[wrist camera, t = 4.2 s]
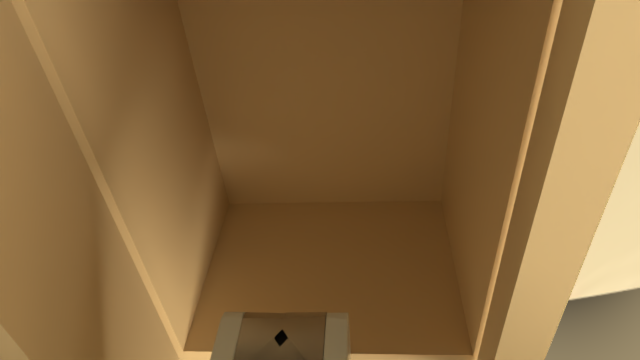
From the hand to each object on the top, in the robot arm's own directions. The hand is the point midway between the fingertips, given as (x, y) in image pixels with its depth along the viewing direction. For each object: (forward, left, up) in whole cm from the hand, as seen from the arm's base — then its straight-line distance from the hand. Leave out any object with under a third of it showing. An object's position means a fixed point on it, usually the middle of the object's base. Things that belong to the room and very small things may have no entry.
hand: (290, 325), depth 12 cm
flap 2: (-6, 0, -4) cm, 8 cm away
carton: (0, 0, -14) cm, 14 cm away
